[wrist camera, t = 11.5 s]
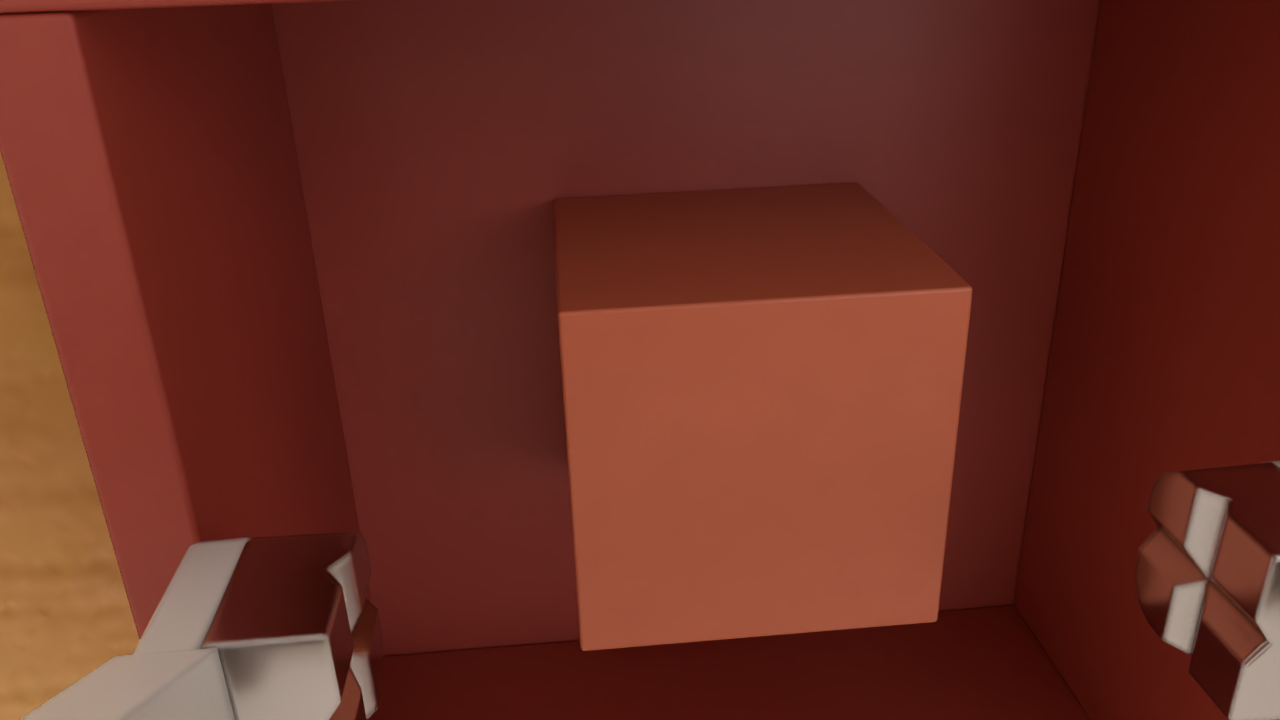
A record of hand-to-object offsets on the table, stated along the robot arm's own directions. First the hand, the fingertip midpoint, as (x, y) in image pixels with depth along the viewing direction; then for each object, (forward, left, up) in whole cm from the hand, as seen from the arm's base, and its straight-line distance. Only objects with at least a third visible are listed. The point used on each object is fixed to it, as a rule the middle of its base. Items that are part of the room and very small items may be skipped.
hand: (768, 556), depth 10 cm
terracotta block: (0, 0, -6) cm, 6 cm away
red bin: (0, 0, -7) cm, 7 cm away
